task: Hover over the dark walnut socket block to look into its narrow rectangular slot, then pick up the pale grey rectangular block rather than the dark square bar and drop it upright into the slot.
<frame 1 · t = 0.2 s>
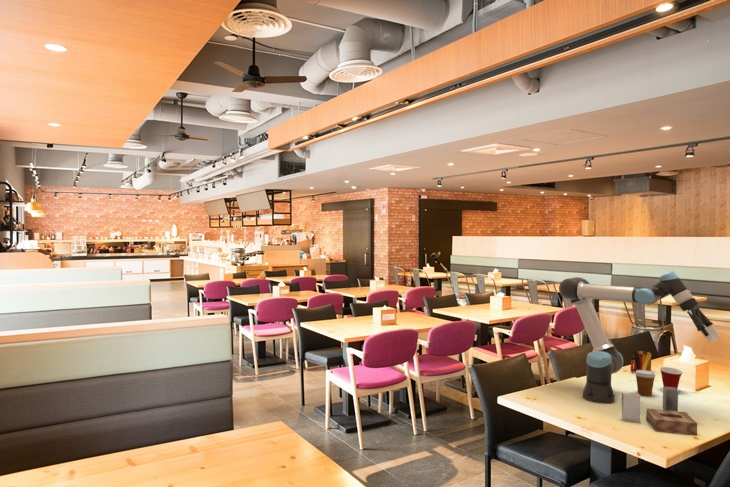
hand: (715, 340, 233), 36 cm above the table, tool tilted 35°, fingers open, 13 cm apart
pale grey rectangular block: (630, 420, 228), on the table
socket block: (670, 426, 220), on the table
plastic cup: (670, 391, 271), on the table
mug: (641, 372, 309), on the table
square steel bar: (670, 413, 237), on the table
disposable coffee cup: (644, 394, 266), on the table
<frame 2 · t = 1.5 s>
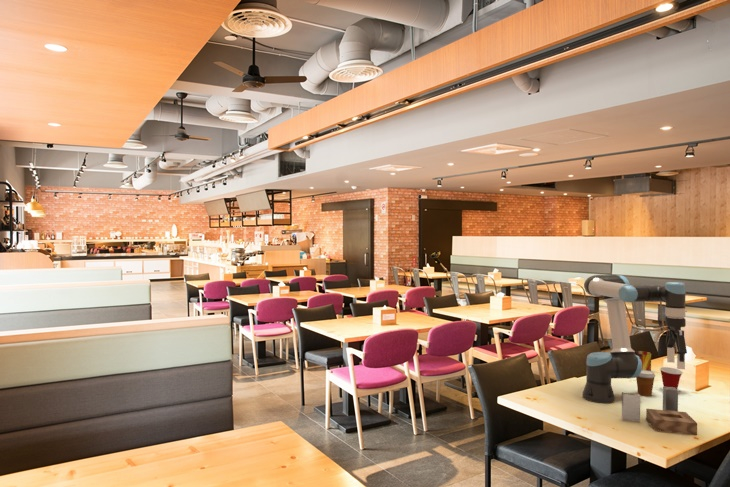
hand: (675, 365, 220), 27 cm above the table, tool pointing down, fingers open, 13 cm apart
nothing on the table moved.
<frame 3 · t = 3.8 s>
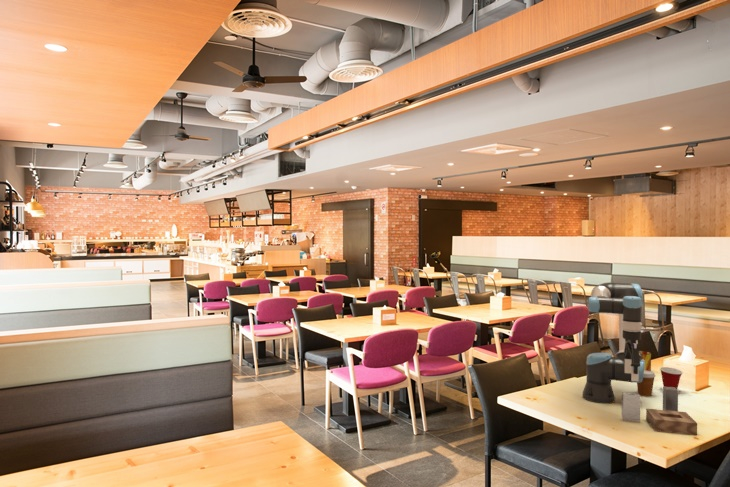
hand: (631, 376, 228), 20 cm above the table, tool pointing down, fingers open, 13 cm apart
nothing on the table moved.
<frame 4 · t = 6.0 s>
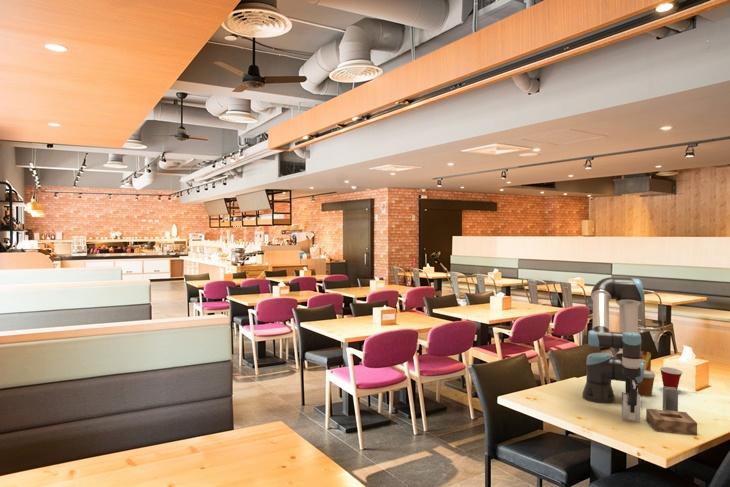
hand: (630, 417, 228), 1 cm above the table, tool pointing down, fingers closed on pale grey rectangular block, 3 cm apart
pale grey rectangular block: (630, 420, 228), on the table, touching gripper
everything else where it was.
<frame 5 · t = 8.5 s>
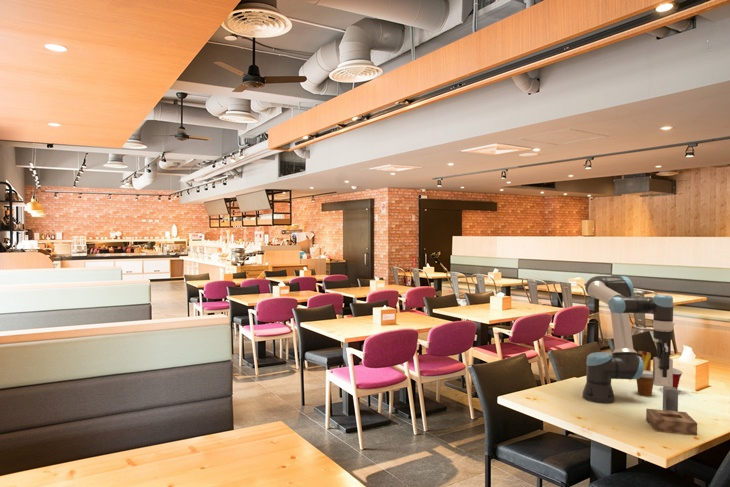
hand: (662, 382, 221), 19 cm above the table, tool pointing down, fingers closed on pale grey rectangular block, 3 cm apart
pale grey rectangular block: (662, 385, 221), point 18 cm above the table, touching gripper
everything else where it was.
when the fingers open (8 cm above the table, at t = 11.0 s): pale grey rectangular block drops 6 cm, resting in socket block.
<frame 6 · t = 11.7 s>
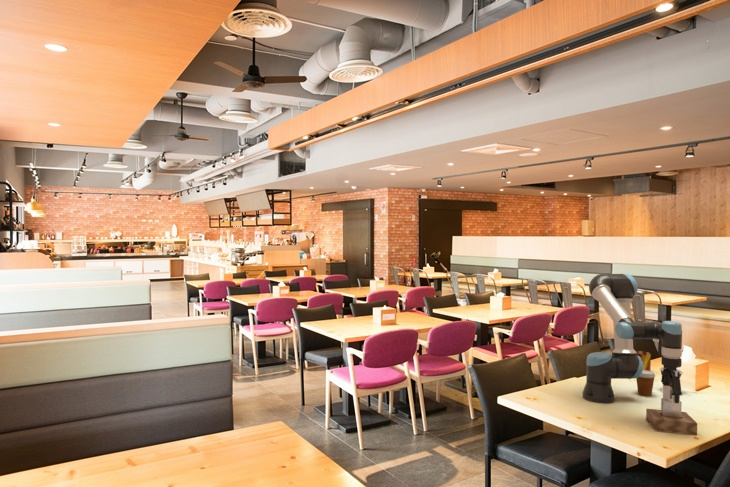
hand: (670, 405, 220), 10 cm above the table, tool pointing down, fingers open, 13 cm apart
pale grey rectangular block: (670, 426, 220), resting in socket block
everything else where it was.
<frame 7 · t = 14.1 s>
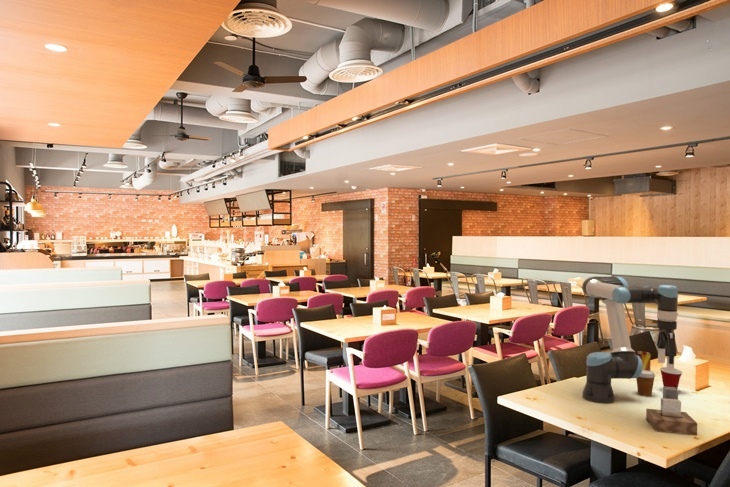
hand: (665, 366, 224), 25 cm above the table, tool pointing down, fingers open, 13 cm apart
nothing on the table moved.
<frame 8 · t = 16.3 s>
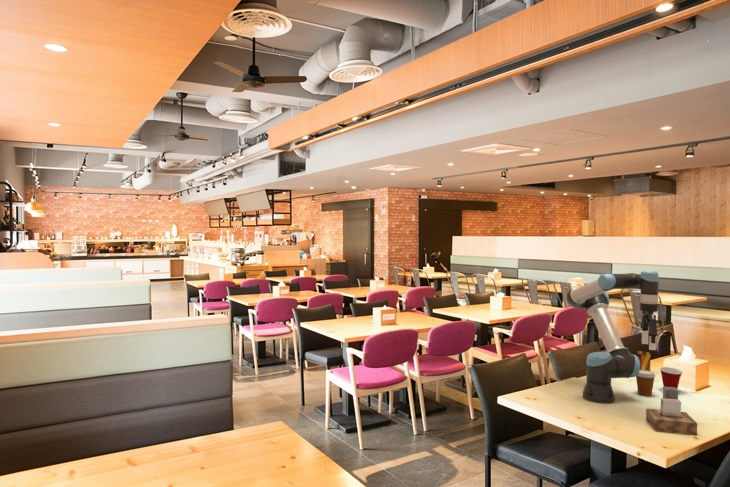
hand: (648, 346, 241), 31 cm above the table, tool pointing down, fingers open, 13 cm apart
nothing on the table moved.
at the end: pale grey rectangular block 0.0 cm from the socket block (horizontally); pale grey rectangular block resting in socket block; pale grey rectangular block tilted 0° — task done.
